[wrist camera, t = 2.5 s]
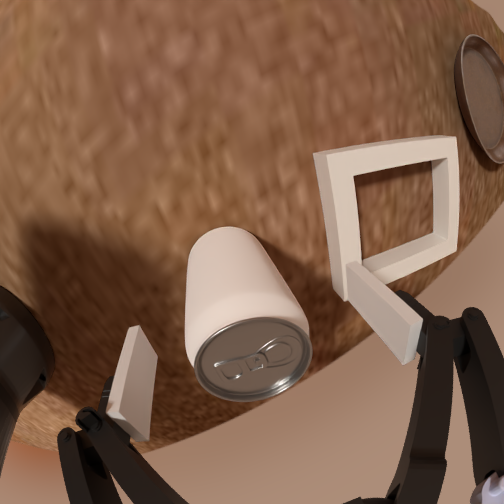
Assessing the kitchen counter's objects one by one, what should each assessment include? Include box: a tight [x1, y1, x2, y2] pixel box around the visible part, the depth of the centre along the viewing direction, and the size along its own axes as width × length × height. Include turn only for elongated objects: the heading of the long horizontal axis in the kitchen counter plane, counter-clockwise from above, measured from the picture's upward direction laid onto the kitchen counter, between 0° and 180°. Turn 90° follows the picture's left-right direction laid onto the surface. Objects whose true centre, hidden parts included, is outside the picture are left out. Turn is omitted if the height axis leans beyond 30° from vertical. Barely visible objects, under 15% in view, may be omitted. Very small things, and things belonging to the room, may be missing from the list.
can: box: [185, 227, 313, 402], centre depth 17 cm, size 6×6×12 cm
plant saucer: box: [454, 35, 504, 164], centre depth 20 cm, size 18×18×3 cm
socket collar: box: [313, 135, 459, 301], centre depth 23 cm, size 16×13×2 cm
